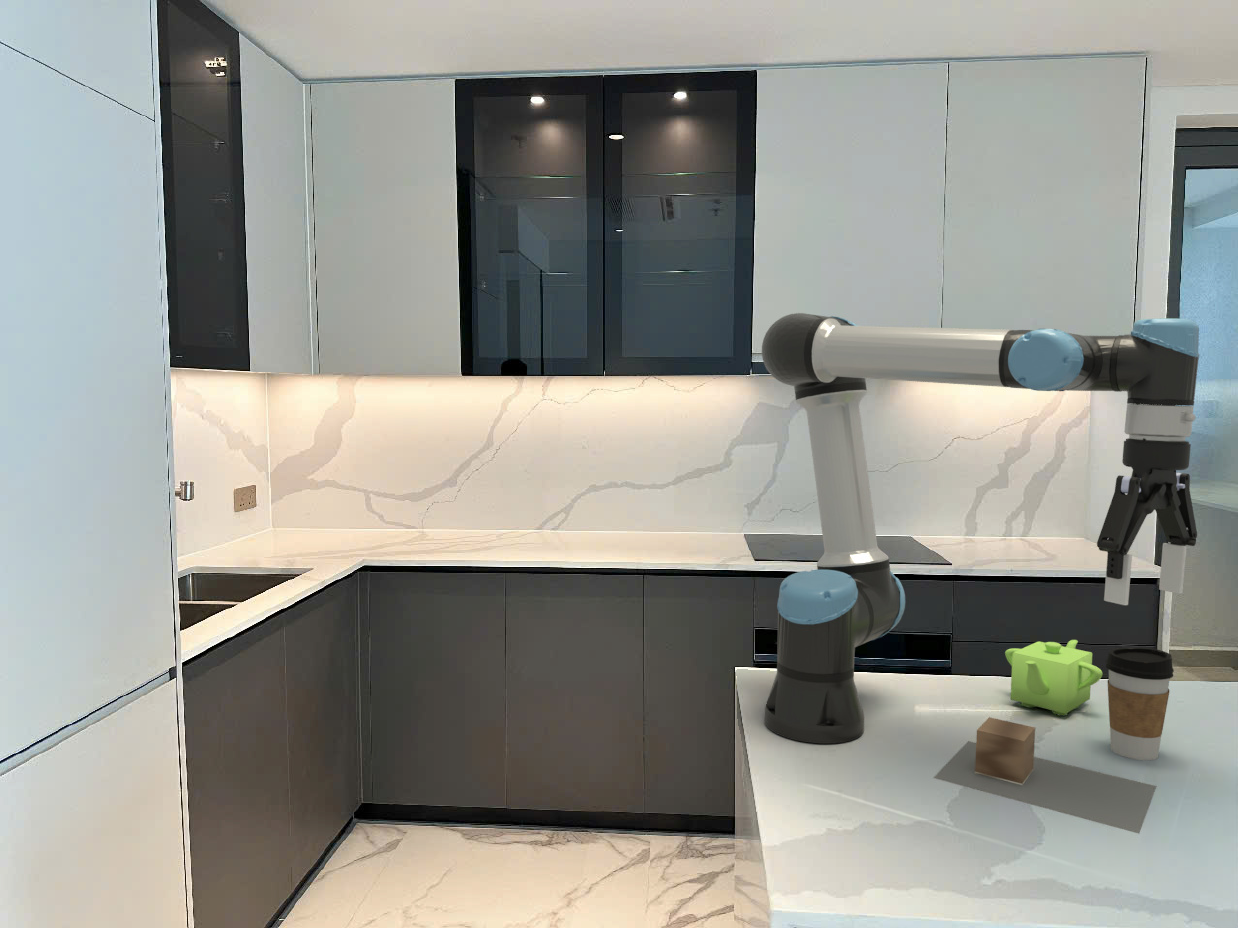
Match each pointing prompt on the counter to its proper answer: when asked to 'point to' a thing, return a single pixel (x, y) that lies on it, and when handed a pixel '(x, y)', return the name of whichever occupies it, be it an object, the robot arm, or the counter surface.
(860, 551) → the robot arm
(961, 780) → the rubber mat
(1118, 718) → the coffee cup
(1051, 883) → the counter surface
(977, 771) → the walnut cube
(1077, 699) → the teapot
